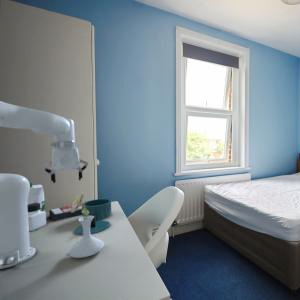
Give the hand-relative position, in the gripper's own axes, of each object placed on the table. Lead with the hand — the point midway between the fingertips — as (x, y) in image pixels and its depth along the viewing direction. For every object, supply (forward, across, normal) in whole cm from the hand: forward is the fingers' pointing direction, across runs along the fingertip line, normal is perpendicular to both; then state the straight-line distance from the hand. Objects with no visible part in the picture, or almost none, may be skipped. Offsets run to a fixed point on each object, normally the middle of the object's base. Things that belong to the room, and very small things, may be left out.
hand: (67, 181), depth 98 cm
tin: (+24, +12, +11) cm, 29 cm away
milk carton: (+24, -17, +26) cm, 39 cm away
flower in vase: (+24, +6, -29) cm, 38 cm away
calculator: (+24, -2, +23) cm, 34 cm away
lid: (+23, +9, -5) cm, 26 cm away
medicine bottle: (+24, -15, +13) cm, 31 cm away
